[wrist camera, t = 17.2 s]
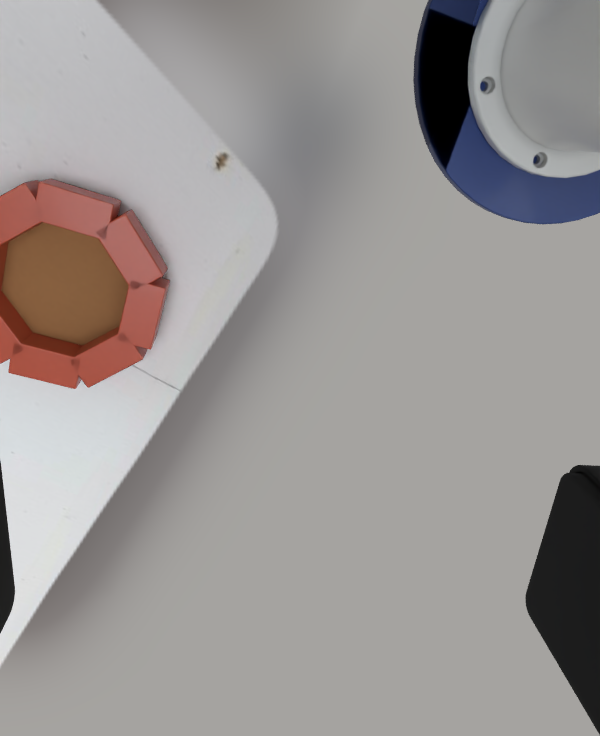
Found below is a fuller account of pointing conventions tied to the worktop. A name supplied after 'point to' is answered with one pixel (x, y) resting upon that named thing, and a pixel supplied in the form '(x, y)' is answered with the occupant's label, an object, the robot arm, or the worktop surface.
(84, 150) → the worktop surface
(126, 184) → the worktop surface
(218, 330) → the worktop surface
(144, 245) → the terracotta ring
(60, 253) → the cork mat
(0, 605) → the robot arm
